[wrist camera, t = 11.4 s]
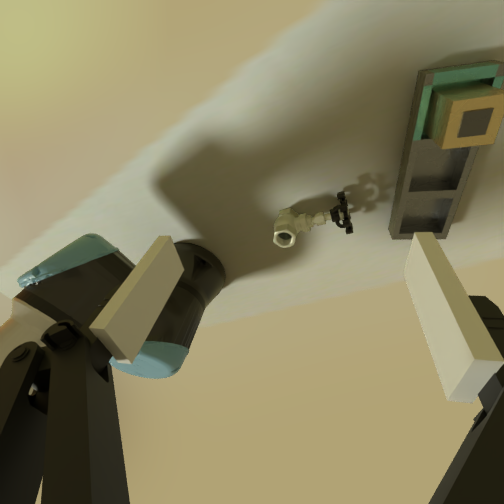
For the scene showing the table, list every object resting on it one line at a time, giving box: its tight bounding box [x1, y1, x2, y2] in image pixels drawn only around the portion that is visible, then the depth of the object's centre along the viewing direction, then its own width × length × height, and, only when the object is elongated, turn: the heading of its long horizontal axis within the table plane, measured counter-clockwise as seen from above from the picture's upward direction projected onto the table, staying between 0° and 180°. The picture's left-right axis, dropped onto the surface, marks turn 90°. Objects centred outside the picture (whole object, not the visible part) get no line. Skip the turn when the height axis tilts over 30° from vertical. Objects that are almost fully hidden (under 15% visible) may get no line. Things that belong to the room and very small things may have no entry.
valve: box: [273, 191, 353, 248], centre depth 43 cm, size 7×7×12 cm
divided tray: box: [388, 60, 504, 240], centre depth 36 cm, size 7×22×3 cm, turn 8°
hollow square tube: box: [423, 81, 504, 149], centre depth 30 cm, size 5×5×8 cm
